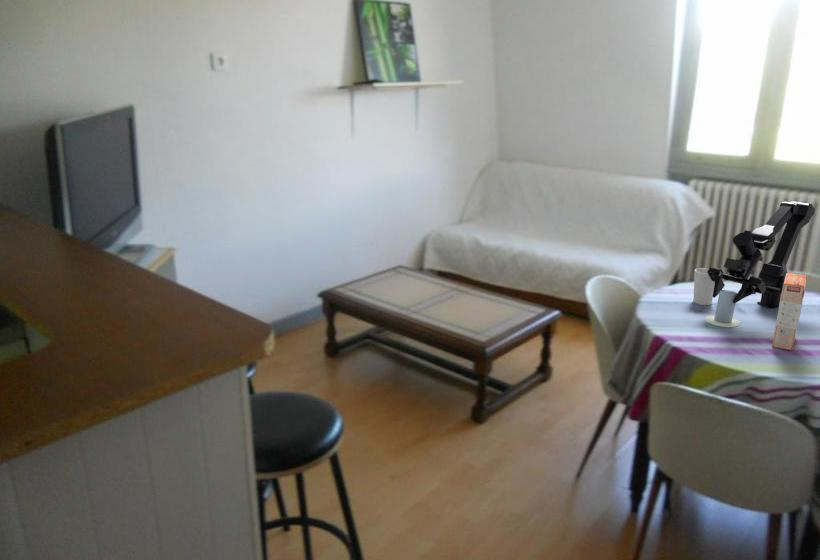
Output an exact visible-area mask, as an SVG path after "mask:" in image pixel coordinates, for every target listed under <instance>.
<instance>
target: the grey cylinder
mask: <svg viewBox="0 0 820 560" xmlns="http://www.w3.org/2000/svg"><path fill="white" fill-rule="evenodd" d="M737 293H738V292H736V291H732V290H727V289H722V290H720V292H719V294H718V297H717V298H718V299H717V303H716V308H715V312H714V316H715V317H714V319H715V320H717V321H719V322H724V323H731V322H732V318H733V319H734V313H735V307H736V305H737V302H736V303H733V300H734V298H735V296H736V295H737Z"/></svg>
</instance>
